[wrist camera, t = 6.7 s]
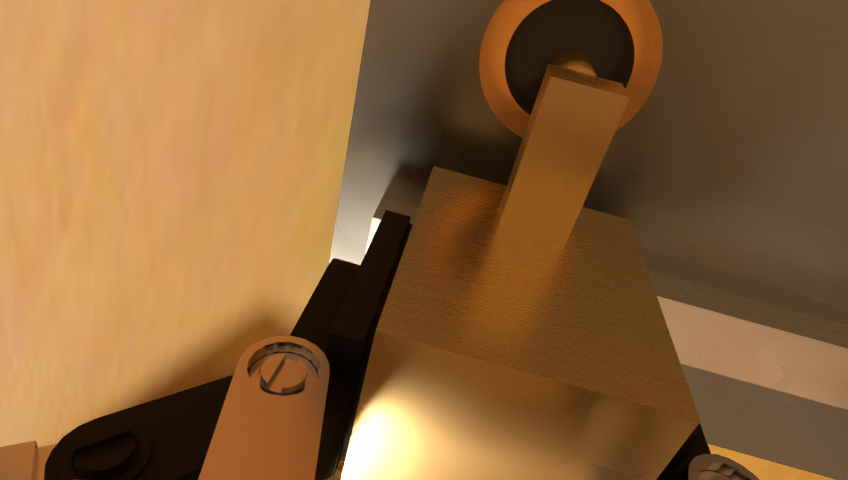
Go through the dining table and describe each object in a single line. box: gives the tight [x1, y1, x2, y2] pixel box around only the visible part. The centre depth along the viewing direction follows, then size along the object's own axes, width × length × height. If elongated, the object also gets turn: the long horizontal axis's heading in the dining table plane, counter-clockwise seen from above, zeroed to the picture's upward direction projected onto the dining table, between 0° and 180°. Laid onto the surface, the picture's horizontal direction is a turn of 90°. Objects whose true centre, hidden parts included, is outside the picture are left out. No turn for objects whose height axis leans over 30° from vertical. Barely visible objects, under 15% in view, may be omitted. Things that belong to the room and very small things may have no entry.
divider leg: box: [341, 50, 701, 480], centre depth 10 cm, size 4×8×6 cm, turn 167°
